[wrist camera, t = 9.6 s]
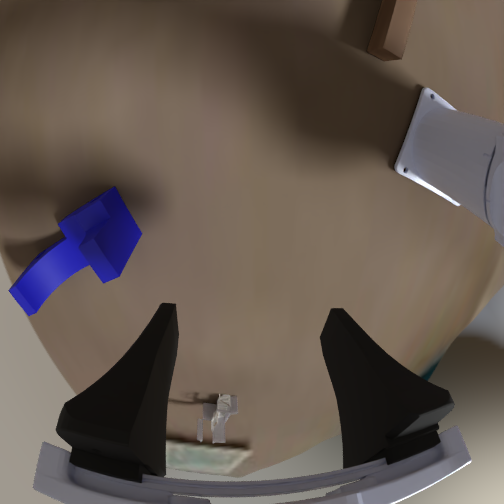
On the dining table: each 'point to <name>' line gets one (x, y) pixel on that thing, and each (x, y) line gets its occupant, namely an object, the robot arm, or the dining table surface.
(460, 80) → the dining table surface
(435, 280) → the dining table surface
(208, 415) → the architectural model
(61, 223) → the blue curved piece
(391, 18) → the frame
